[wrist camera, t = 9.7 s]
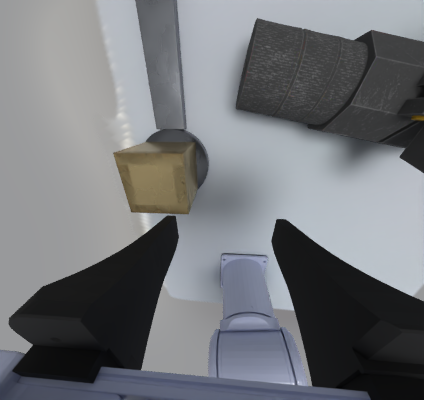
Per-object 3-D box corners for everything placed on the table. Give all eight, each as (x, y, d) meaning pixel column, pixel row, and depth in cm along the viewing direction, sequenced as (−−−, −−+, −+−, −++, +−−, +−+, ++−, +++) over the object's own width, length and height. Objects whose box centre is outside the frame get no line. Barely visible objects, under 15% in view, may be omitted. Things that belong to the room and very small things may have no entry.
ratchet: (209, 191, 21) (205, 208, 17) (153, 190, 22) (137, 206, 18) (204, -91, 11) (193, -216, 7) (96, -82, 11) (25, -193, 7)
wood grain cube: (197, 187, 19) (188, 214, 14) (155, 186, 20) (131, 212, 14) (195, 141, 17) (182, 153, 12) (146, 141, 17) (113, 153, 12)
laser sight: (256, 6, 13) (326, -224, 4) (501, 62, 14) (1006, -34, 5) (229, 130, 18) (235, 145, 9) (412, 167, 18) (586, 215, 10)
